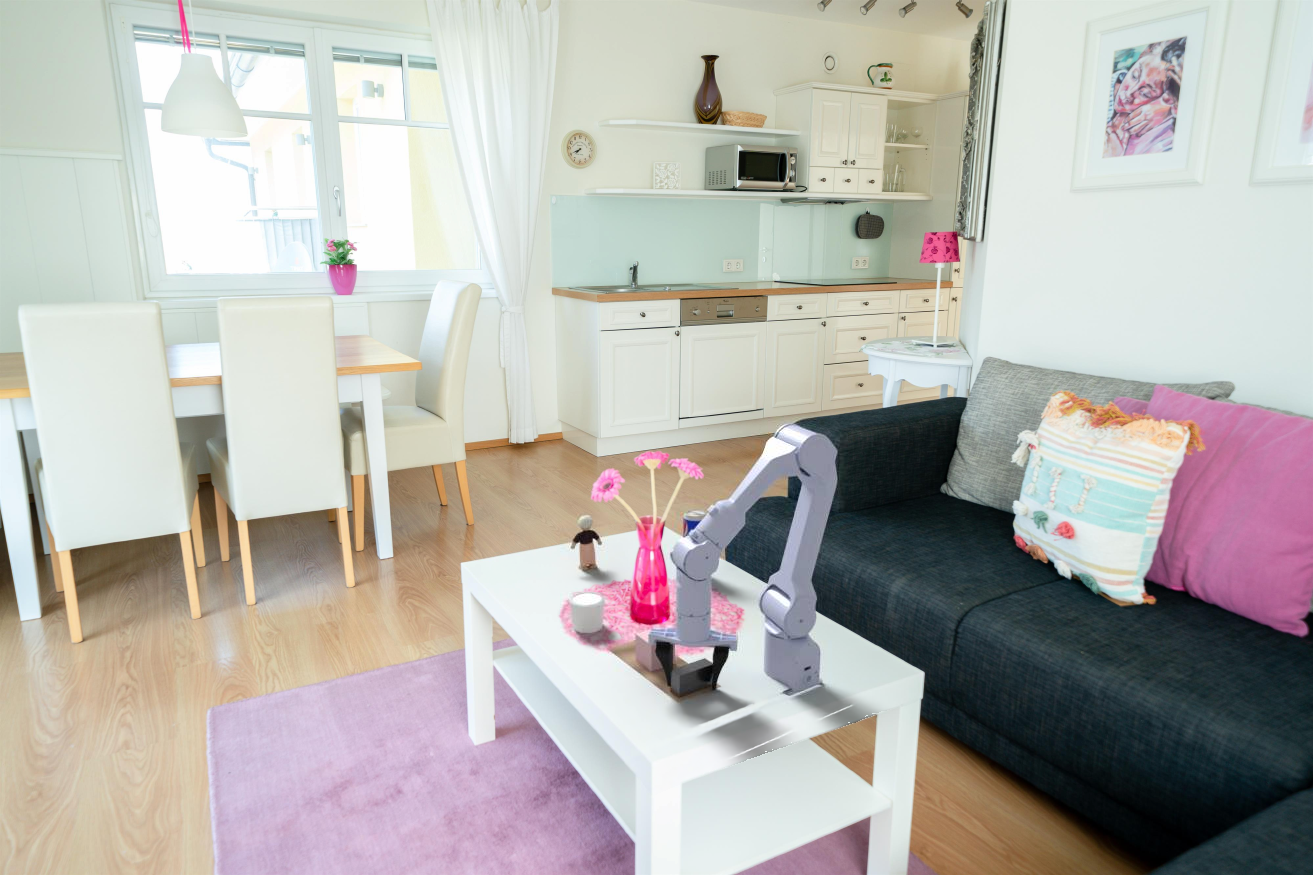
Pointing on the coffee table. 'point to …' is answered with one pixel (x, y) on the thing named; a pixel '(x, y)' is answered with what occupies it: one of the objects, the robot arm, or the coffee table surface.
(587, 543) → the grandmother figurine
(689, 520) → the beverage can
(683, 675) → the strip
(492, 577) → the coffee table surface
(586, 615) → the white candle
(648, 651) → the cube
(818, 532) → the robot arm
